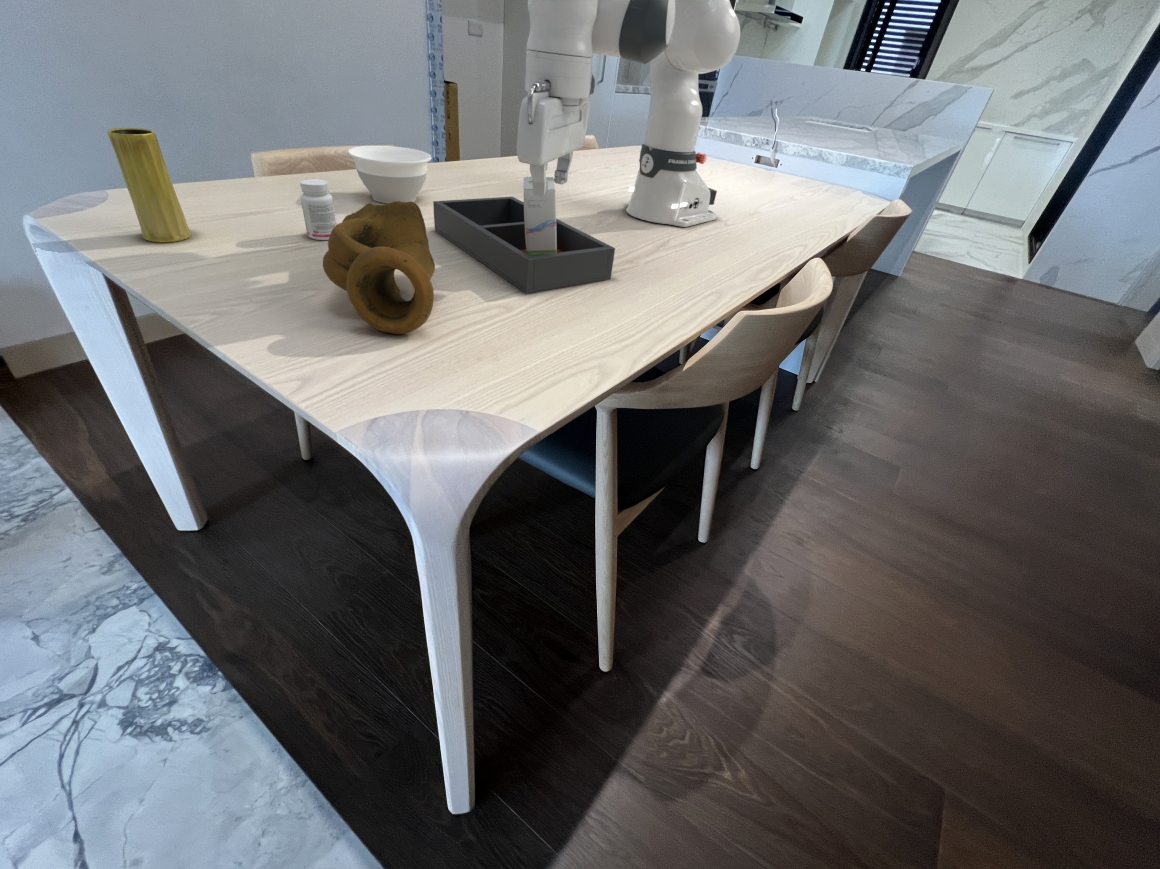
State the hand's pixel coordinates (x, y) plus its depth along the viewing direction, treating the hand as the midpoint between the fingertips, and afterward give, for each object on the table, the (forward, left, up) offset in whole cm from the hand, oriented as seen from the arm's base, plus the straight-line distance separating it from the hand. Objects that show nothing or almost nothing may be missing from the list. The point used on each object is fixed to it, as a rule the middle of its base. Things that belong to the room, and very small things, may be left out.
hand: (550, 188), depth 80 cm
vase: (+48, -32, -13) cm, 59 cm away
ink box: (-1, -2, -12) cm, 12 cm away
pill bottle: (+27, -26, -13) cm, 40 cm away
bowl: (+7, -46, -13) cm, 48 cm away
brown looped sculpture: (+27, +1, -13) cm, 30 cm away
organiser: (0, -8, -12) cm, 15 cm away
